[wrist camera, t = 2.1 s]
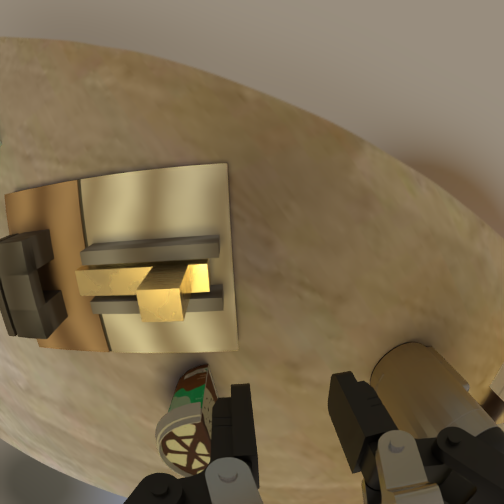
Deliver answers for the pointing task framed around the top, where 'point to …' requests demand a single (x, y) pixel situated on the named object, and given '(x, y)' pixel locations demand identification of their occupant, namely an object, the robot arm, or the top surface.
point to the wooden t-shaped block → (149, 285)
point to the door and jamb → (118, 259)
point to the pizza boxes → (499, 387)
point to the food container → (188, 424)
